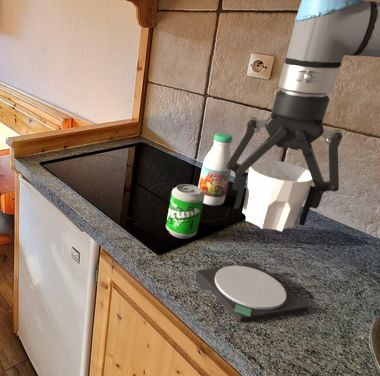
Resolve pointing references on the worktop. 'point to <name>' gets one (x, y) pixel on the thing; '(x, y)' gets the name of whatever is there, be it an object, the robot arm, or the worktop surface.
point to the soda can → (185, 210)
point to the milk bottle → (216, 170)
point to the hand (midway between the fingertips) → (268, 213)
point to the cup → (275, 193)
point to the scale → (249, 292)
